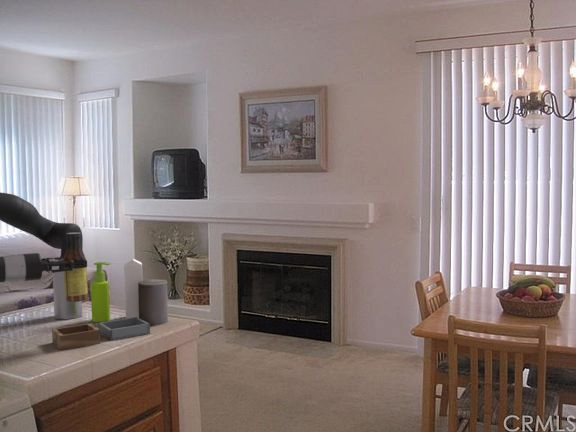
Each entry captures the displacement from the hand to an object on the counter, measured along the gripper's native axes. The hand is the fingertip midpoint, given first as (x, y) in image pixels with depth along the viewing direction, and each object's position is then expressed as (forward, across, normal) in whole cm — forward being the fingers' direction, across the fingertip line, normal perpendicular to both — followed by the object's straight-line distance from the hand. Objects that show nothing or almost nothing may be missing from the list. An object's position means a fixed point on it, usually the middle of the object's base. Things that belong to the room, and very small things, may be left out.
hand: (83, 262), depth 166 cm
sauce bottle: (-2, 0, +11) cm, 11 cm away
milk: (+22, +20, +24) cm, 38 cm away
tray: (+12, +2, +24) cm, 27 cm away
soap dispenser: (+12, +24, +24) cm, 36 cm away
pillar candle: (+25, +10, +24) cm, 36 cm away
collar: (-3, 0, +24) cm, 24 cm away
